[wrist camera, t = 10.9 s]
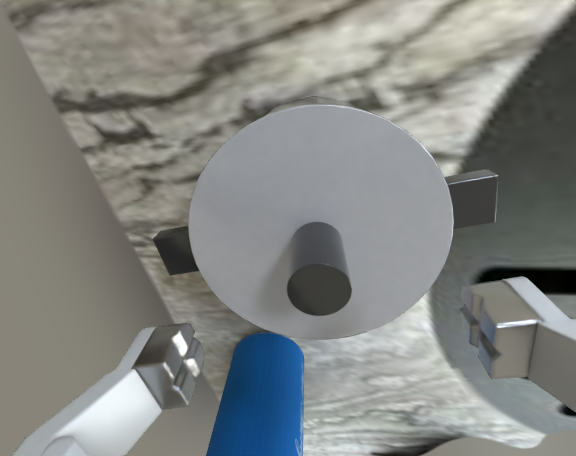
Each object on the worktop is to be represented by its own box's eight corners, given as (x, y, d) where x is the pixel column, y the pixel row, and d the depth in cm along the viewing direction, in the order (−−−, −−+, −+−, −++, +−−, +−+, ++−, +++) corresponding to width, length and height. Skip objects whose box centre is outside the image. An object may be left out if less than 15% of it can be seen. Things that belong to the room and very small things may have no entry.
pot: (169, 130, 20) (102, 157, 14) (440, 64, 18) (518, 58, 11) (224, 274, 25) (194, 345, 19) (442, 238, 23) (497, 306, 16)
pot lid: (156, 138, 14) (91, 165, 10) (442, 69, 12) (513, 66, 8) (236, 337, 19) (216, 410, 15) (445, 310, 17) (488, 385, 13)
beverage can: (309, 372, 30) (309, 540, 19) (245, 377, 31) (211, 541, 20) (297, 322, 27) (290, 485, 16) (227, 329, 28) (176, 489, 17)
